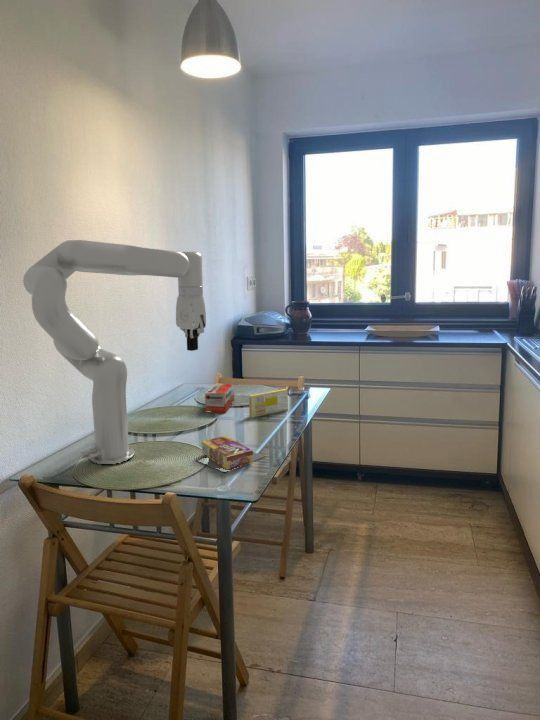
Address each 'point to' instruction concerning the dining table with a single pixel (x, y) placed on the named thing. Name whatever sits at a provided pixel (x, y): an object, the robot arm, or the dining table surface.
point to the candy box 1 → (227, 452)
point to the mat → (255, 458)
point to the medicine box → (219, 397)
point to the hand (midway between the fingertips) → (192, 349)
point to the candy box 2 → (268, 402)
